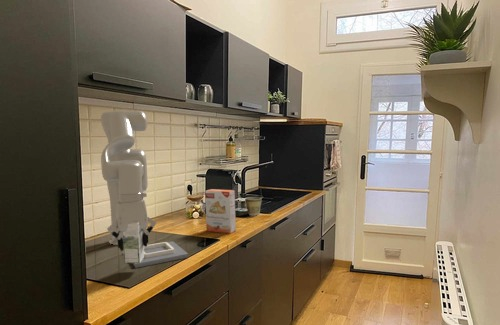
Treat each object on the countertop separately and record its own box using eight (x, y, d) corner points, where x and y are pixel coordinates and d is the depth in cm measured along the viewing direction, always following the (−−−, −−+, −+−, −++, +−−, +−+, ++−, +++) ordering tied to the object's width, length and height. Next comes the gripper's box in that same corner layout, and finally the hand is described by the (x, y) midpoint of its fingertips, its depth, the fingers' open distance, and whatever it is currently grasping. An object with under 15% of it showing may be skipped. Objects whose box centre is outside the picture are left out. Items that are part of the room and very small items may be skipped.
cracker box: (206, 231, 172) (204, 190, 170) (212, 228, 177) (210, 188, 176) (230, 234, 166) (229, 191, 164) (236, 231, 171) (235, 189, 170)
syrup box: (144, 257, 124) (142, 218, 122) (139, 263, 118) (138, 222, 116) (128, 257, 123) (126, 218, 122) (123, 264, 117) (121, 222, 116)
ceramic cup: (259, 216, 202) (259, 199, 201) (243, 215, 205) (243, 199, 204) (264, 211, 214) (264, 196, 214) (249, 211, 217) (249, 195, 217)
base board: (125, 253, 141) (125, 245, 141) (173, 244, 151) (172, 237, 151) (135, 268, 124) (135, 259, 124) (188, 257, 134) (188, 249, 134)
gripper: (153, 193, 126) (155, 240, 128) (102, 198, 117) (105, 248, 119) (159, 196, 119) (161, 246, 121) (105, 202, 111) (108, 255, 112)
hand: (133, 247), depth 120 cm, fingers closed on syrup box, 7 cm apart
